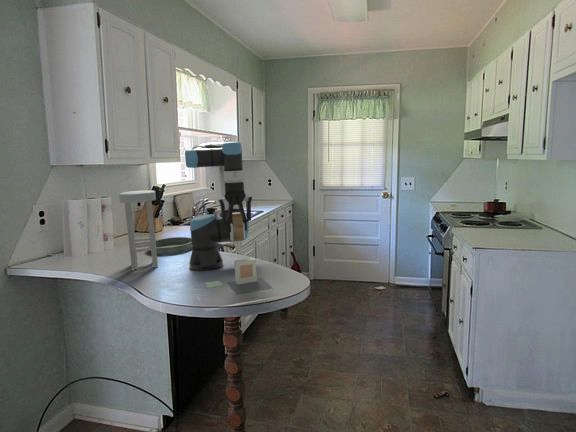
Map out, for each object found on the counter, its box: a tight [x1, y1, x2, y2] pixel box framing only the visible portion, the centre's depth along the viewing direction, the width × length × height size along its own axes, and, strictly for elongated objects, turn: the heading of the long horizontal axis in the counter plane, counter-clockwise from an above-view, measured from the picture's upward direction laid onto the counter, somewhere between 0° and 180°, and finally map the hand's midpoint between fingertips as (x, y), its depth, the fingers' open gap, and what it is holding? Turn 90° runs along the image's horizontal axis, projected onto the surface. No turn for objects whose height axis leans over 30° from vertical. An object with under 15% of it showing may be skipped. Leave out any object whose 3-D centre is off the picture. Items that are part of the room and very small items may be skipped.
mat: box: [227, 276, 273, 295], centre depth 159 cm, size 15×14×1 cm
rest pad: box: [203, 280, 223, 290], centre depth 162 cm, size 6×6×1 cm
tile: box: [233, 257, 258, 285], centre depth 163 cm, size 3×8×9 cm, turn 112°
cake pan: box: [148, 236, 192, 255], centre depth 226 cm, size 25×25×4 cm
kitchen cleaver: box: [218, 242, 236, 249], centre depth 233 cm, size 24×1×10 cm
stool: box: [119, 189, 159, 270], centre depth 193 cm, size 16×16×35 cm
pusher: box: [231, 212, 245, 243], centre depth 167 cm, size 4×4×11 cm
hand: (237, 239), depth 167 cm, fingers closed on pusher, 4 cm apart
